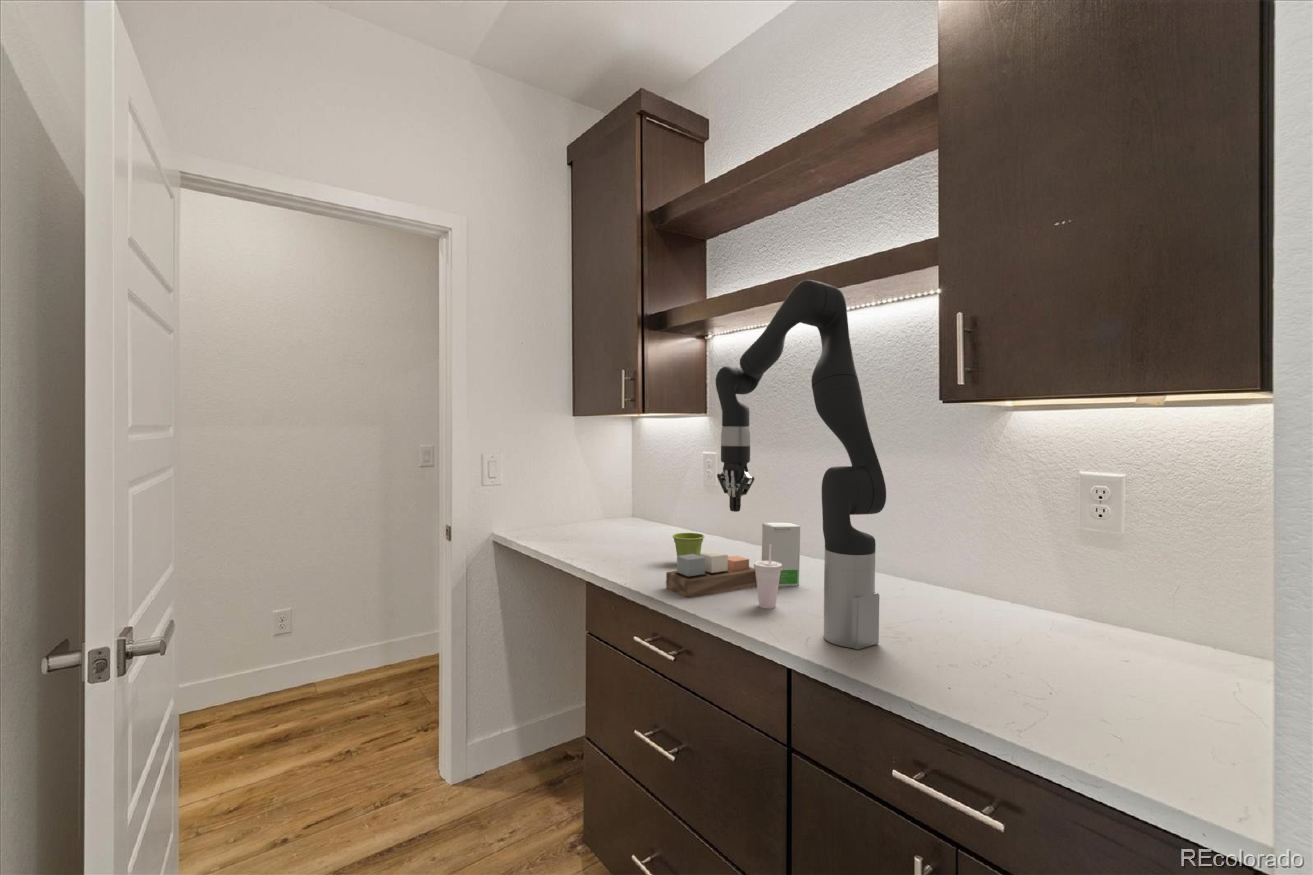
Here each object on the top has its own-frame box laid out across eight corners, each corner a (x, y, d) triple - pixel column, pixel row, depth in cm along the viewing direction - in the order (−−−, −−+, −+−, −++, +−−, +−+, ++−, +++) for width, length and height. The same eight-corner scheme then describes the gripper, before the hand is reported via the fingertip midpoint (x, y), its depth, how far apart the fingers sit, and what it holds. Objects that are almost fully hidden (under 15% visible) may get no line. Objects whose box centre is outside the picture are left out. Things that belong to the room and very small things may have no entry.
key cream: (727, 570, 149) (727, 554, 149) (711, 572, 147) (711, 556, 147) (715, 566, 154) (715, 551, 153) (699, 568, 151) (700, 553, 151)
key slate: (705, 573, 146) (705, 557, 146) (688, 576, 143) (688, 560, 143) (693, 569, 150) (693, 553, 150) (676, 572, 147) (677, 556, 147)
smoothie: (774, 612, 130) (774, 548, 130) (748, 606, 134) (748, 545, 134) (786, 605, 135) (787, 544, 135) (761, 600, 139) (761, 540, 139)
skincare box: (770, 588, 150) (771, 526, 149) (759, 581, 156) (760, 522, 156) (800, 586, 152) (801, 525, 151) (789, 579, 158) (789, 521, 158)
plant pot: (694, 570, 167) (694, 539, 167) (666, 565, 173) (666, 536, 172) (710, 564, 175) (710, 534, 175) (682, 559, 180) (682, 531, 180)
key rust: (748, 574, 153) (749, 559, 153) (733, 577, 150) (733, 561, 150) (736, 570, 157) (736, 555, 157) (721, 572, 155) (721, 557, 155)
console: (759, 585, 152) (759, 570, 152) (688, 598, 140) (688, 581, 140) (735, 577, 160) (735, 562, 160) (666, 588, 149) (666, 572, 149)
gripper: (763, 444, 149) (763, 513, 149) (731, 443, 161) (730, 507, 161) (740, 445, 145) (739, 515, 146) (708, 443, 157) (708, 509, 157)
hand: (734, 511), depth 153 cm, fingers closed
